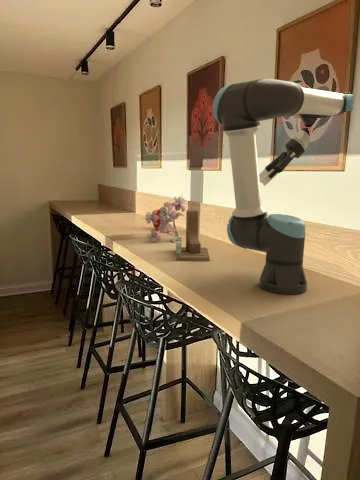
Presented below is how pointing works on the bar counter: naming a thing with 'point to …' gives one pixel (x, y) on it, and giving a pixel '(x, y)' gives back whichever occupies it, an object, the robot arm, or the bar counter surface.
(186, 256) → the walnut edge board
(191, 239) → the wooden block
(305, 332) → the bar counter surface
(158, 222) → the red rounded piece
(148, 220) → the flower
